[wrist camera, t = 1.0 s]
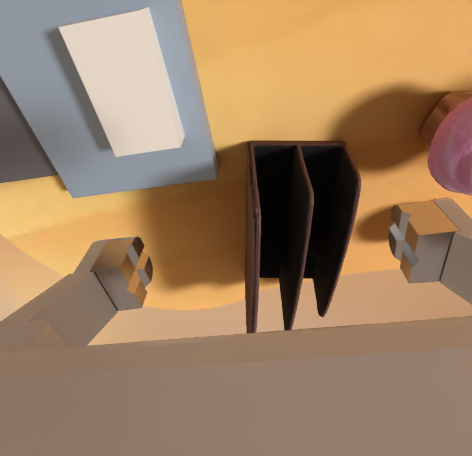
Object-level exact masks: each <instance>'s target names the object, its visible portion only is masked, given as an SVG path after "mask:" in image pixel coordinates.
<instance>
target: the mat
mask: <svg viewBox="0 0 472 456" xmlns="http://www.w3.org/2000/svg"><path fill="white" fill-rule="evenodd" d="M53 175H59V174H58V173H57V171H56V169H55V167H54V166H53V164H52V162H51V161H50V159H49V157H48V156H47V154H46V152H45V151H44V149H43V147H42V145H41V144H40V142H39V140H38V139H37V137H36V135H35V134H34V132H33V130H32V129H31V127H30V125H29V123H28V122H27V120H26V118H25V117H24V115H23V113H22V112H21V110H20V108H19V107H18V105H17V103H16V101H15V100H14V98H13V96H12V95H11V93H10V91H9V90H8V88H7V86H6V85H5V83H4V81H3V79H2V78H1V76H0V183H4V182H11V181H18V180H25V179H32V178H39V177H46V176H53Z"/></svg>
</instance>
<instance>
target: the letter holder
mask: <svg viewBox="0 0 472 456" xmlns="http://www.w3.org/2000/svg"><path fill="white" fill-rule="evenodd" d="M360 190H361V178H360V174H359V172H358V170H357V168H356V165H355V163H354V161H353V159H352V156H351V154H350V153H349V151H348V148H347V146H346V144H345V142H344V141H250V142H248V143H247V191H246V252H245V299H246V326H247V333H256V328H257V313H258V292H259V278H279V283H280V292H281V299H282V310H283V320H284V330H292V327H293V322H294V318H295V314H296V310H297V305H298V300H299V295H300V290H301V285H302V280H303V278H312V279H313V282H314V288H315V294H316V300H317V310H318V314H319V315H320V316H321V317H324V316H325V314H326V313H327V310H328V308H329V305H330V302H331V300H332V296H333V293H334V291H335V288H336V285H337V282H338V278H339V275H340V272H341V268H342V265H343V261H344V258H345V254H346V251H347V247H348V244H349V240H350V236H351V232H352V229H353V225H354V220H355V216H356V212H357V207H358V202H359V196H360Z"/></svg>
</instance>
